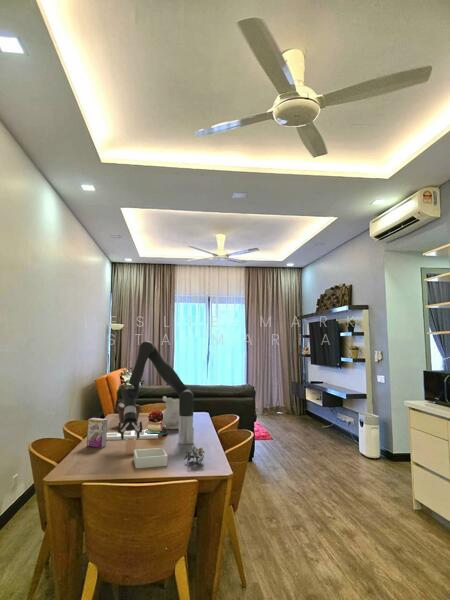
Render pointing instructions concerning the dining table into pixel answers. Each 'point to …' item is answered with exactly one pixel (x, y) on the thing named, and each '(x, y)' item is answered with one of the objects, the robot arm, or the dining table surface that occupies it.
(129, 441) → the tub
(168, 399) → the ceramic pitcher
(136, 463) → the tray
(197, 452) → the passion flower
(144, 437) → the holder
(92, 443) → the candy bar box
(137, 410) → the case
